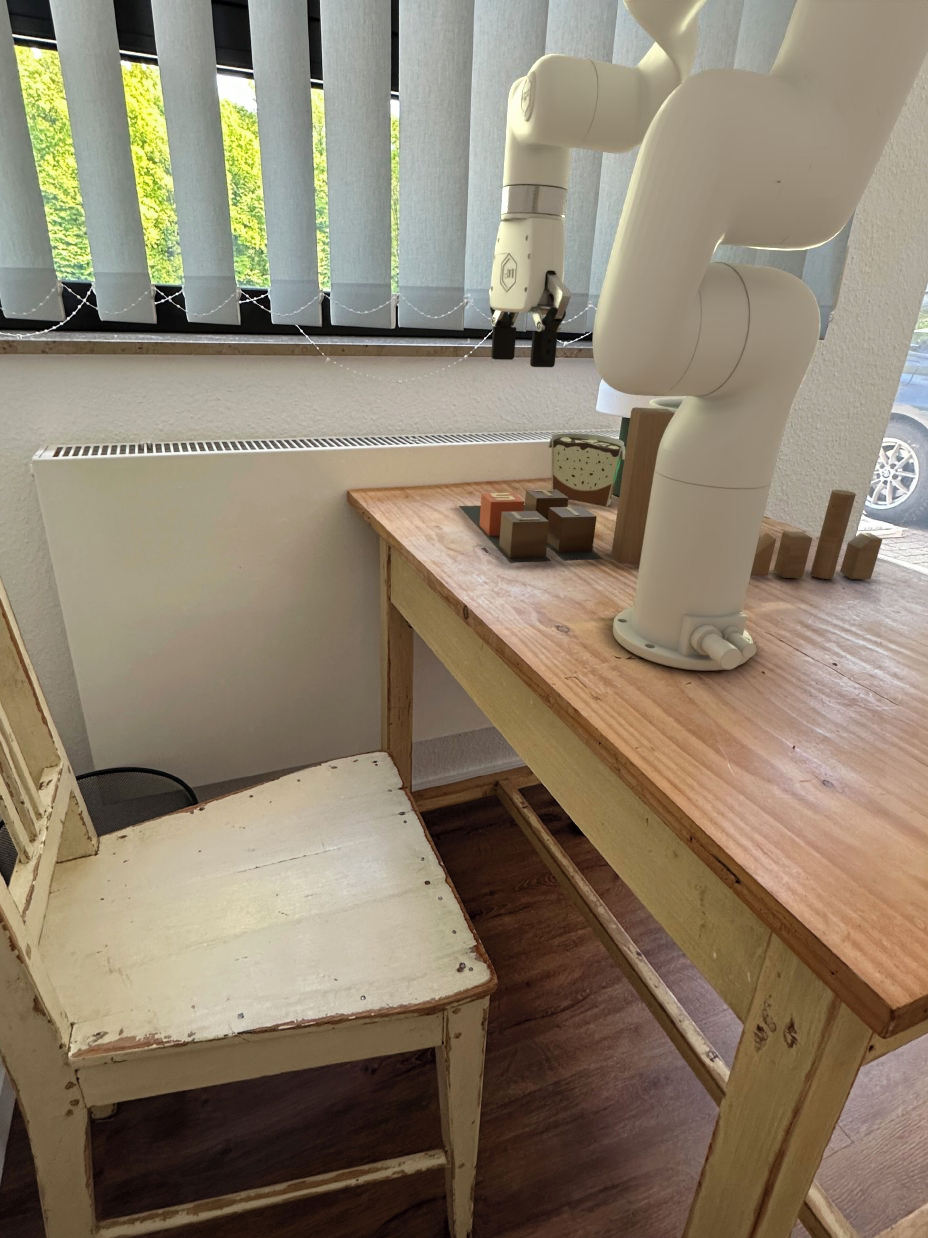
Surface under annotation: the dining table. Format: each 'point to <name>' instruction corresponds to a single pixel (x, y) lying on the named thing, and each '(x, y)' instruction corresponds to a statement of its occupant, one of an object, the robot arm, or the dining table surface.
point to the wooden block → (638, 481)
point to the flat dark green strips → (474, 515)
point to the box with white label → (523, 534)
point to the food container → (586, 466)
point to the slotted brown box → (571, 529)
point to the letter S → (497, 510)
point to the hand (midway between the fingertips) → (521, 362)
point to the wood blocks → (821, 547)
